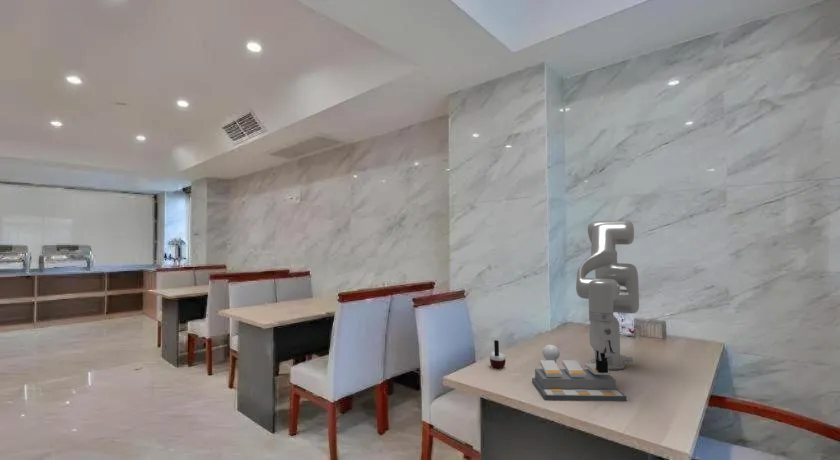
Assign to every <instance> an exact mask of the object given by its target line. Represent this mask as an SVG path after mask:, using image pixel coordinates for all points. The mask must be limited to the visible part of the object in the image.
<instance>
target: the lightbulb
mask: <svg viewBox="0 0 840 460" xmlns="http://www.w3.org/2000/svg"><path fill="white" fill-rule="evenodd" d="M542 356H543V358H544V360H554V361H555V363H556V364H557V361H558V359H559V358H560V349H559V348H558V347H557V346H556V345H554V344H546V345H545V346H544V347H543V349H542Z"/></svg>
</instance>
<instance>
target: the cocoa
mask: <svg viewBox="0 0 840 460" xmlns="http://www.w3.org/2000/svg"><path fill="white" fill-rule="evenodd" d="M493 341H494V344H493V345H494V346H493V348H494V350H492V351H491V352H490V354H489V361H490V362H489V363H490V365H491V367H492V368H493V369H494V370H495V369H497V370H500V369H503V368H505V365H506V359H507V356H506V355H505V354H503V353H502V352H500V350H499V349H500V341H499V340H496V339H495V340H493Z"/></svg>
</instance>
